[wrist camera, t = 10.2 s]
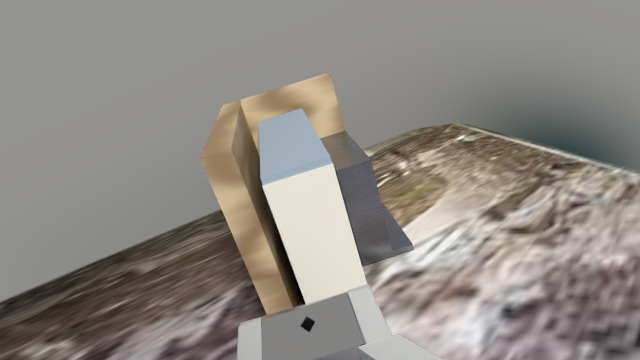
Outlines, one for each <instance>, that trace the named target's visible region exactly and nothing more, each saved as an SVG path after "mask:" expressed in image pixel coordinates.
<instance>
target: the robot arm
mask: <svg viewBox="0 0 640 360" xmlns="http://www.w3.org/2000/svg"><path fill="white" fill-rule="evenodd" d="M237 360H443V359H441V358H440V357H438V356H436V355H434V354H433V353H431V352H429V351H427V350H426V349H424V348H422V347H420V346H419V345H417V344H415V343H414V342H412V341H410V340H408V339H407V338H405V337H403V336H401V335H400V334H398V335H394V336H392V335H391V332H390V330H389V328H388V326H387V323H386V321H385V319H384V317H383V315H382V312H381V310H380V308H379V306H378V303H377V301H376V299H375V297H374V294H373V292H372V290H371V288H370V286H369V285H368V284H365V285H362V286H359V287H356V288H353V289H350V290H347V292H343V293H339V294H336V295H333V296H330V297H327V298H323V299H320V300H317V301H314V302H311V303H308V304H304V305H300V306H297V307H293V308H290V309H286V310H283V311H279V312H276V313H272V314H269V315H265V316H263V317H259V318H256V319H252V320H249V321H245V322H242V323H240V325H239V328H238V342H237Z"/></svg>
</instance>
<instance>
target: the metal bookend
mask: <svg viewBox="0 0 640 360" xmlns="http://www.w3.org/2000/svg"><path fill="white" fill-rule="evenodd" d="M320 140H321V142H322V143H323V145H324V147H325V148H326V150H327V152H328V154H329V155H330V158H331V161H332V163H333V165H334V168H335V172H336V176H337V179H338V183H339V186H340V190H341V193H342V197H343V201H344V204H345V208H346V211H347V215H348V218H349V222H350V226H351V229H352V233H353V236H354V240H355V243H356V247H357V251H358V254H359V258H360V260H361V263H362V265H363V266H366V265H369V264H372V263H375V262H378V261H381V260H384V259H387V258H390V257H393V256H396V255H399V254H402V253H405V252H408V251H411V250H414V248H413V244H412V243H411V241H410V240H409V239H408V237H407V236H406V234H405V233H404V232H403V230H402V229H401V228H400V226H399V225H398V224H397V222H396V221H395V219H394V218H393V217H392V215H391V214H390V213H389V211H388V210H387V209H386V207H385V206H384V205H383V203H382V202H381V200H380V197H379V192H378V188H377V184H376V180H375V175H374V171H373V167H372V163H371V159H370V158H369V157H368V156H367V155H366V154H365V153H364V151H363V150H362V149H361V148H360V147H359V146H358V145H357V144H356V142H354V140H353V139H352V138H351V137H350V136H349V135H348V134H347V133H346V131H342V132H339V133H336V134H332V135H329V136H326V137H323V138H320Z"/></svg>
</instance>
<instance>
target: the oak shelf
mask: <svg viewBox="0 0 640 360" xmlns="http://www.w3.org/2000/svg"><path fill="white" fill-rule="evenodd" d="M301 108H302V109H303V111H304V112H305V114H306V116H307V118H308V119H309V121H310V123H311V124H312V126H313V128H314V130H315V131H316V133H317V135H318V136H319V138H323V137H326V136H329V135H332V134H336V133H339V132H342V131H345V129H344V125H343V121H342V117H341V114H340V110H339V106H338V102H337V98H336V94H335V91H334V87H333V82H332V79H331V75H329V74H328V73H326V74H323V75H320V76H317V77H313V78H310V79H307V80H304V81H301V82H297V83H294V84H291V85H287V86H284V87H281V88H278V89H274V90H271V91H268V92H265V93H261V94H259V95H255V96H252V97H249V98H245V99H242V100H239V101H235V102H232V103H229V104H226V105H223V106H222V109H221V111H220V113H219V115H218V118H217V120H216V122H215V125H214V127H213V129H212V132H211V134H210V136H209V138H208V141H207V143H206V145H205V147H204V150H203V152H202V154H201V157H200V160H201V162H202V164H203V167H204V169H205V172H206V174H207V176H208V179H209V181H210V183H211V185H212V188H213V190H214V193H215V195H216V197H217V199H218V202H219V204H220V207H221V209H222V211H223V214H224V216H225V218H226V221H227V223H228V225H229V228H230V230H231V232H232V235H233V237H234V239H235V242H236V244H237V246H238V249H239V251H240V253H241V256H242V258H243V260H244V263H245V265H246V267H247V270H248V272H249V274H250V277H251V279H252V281H253V284H254V286H255V288H256V291H257V293H258V295H259V298H260V300H261V302H262V305H263V307H264V309H265V312H266V314H267V315H269V314H272V313H276V312H279V311H283V310H286V309H290V308H293V307H297V306H299V301H298V295H297V288H296V282H295V276H294V271H293V268H292V265H291V263H290V260H289V257H288V255H287V252H286V249H285V246H284V244H283V241H282V238H281V236H280V233H279V230H278V228H277V225H276V222H275V219H274V217H273V214H272V211H271V209H270V206H269V203H268V200H267V198H266V195H265V192H264V190H263V187H262V181H261V179H260V142H259V121H262V120H265V119H268V118H272V117H275V116H278V115H281V114H285V113H288V112H291V111H294V110H297V109H301Z"/></svg>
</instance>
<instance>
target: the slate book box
mask: <svg viewBox="0 0 640 360" xmlns="http://www.w3.org/2000/svg"><path fill="white" fill-rule="evenodd" d="M259 142H260V179H261V181H262V187H263V190H264V192H265V195H266V198H267V200H268V203H269V206H270V209H271V211H272V214H273V217H274V219H275V222H276V225H277V228H278V230H279V233H280V236H281V238H282V241H283V244H284V246H285V249H286V252H287V255H288V257H289V260H290V263H291V265H292V268H293V271H294V274H295V276H296V279H297V282H298V284H299V287H300V290H301V292H302V295H303V298H304V301H305V303H306V304H308V303H311V302H314V301H317V300H320V299H323V298H327V297H330V296H333V295H336V294H339V293H343V292H347V290H350V289H353V288H356V287H359V286H362V285H365V284H367V283H366V279H365V276H364V272H363V268H362V265H361V261H360V258H359V254H358V251H357V247H356V243H355V240H354V236H353V233H352V229H351V226H350V222H349V218H348V215H347V211H346V208H345V204H344V201H343V197H342V193H341V190H340V186H339V183H338V179H337V176H336V172H335V168H334V165H333V163H332V161H331V158H330V155H329V154H328V152H327V150H326V148H325V147H324V145H323V143H322V142H321V140H320V138H319V136H318V135H317V133H316V131H315V130H314V128H313V126H312V124H311V123H310V121H309V119H308V118H307V116H306V114H305V112H304V111H303V109H302V108H301V109H297V110H294V111H291V112H288V113H285V114H281V115H278V116H275V117H272V118H268V119H265V120H262V121H259Z"/></svg>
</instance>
